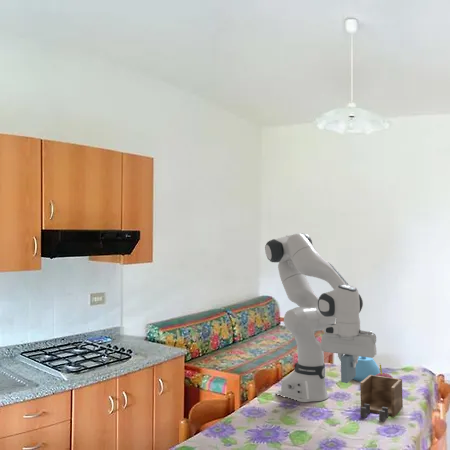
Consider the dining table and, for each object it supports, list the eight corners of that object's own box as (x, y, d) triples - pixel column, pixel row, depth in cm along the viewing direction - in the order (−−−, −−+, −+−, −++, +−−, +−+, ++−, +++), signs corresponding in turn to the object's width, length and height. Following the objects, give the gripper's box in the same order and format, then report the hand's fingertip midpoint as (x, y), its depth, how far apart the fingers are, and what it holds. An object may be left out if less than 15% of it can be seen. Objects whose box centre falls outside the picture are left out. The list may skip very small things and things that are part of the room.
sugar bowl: (357, 383, 226) (357, 359, 227) (342, 375, 241) (342, 351, 241) (386, 381, 230) (385, 356, 230) (369, 372, 245) (369, 349, 245)
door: (350, 383, 173) (349, 358, 173) (341, 382, 175) (340, 357, 175) (358, 376, 182) (358, 352, 182) (350, 375, 184) (349, 351, 184)
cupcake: (383, 393, 212) (383, 365, 212) (369, 388, 219) (369, 361, 220) (398, 390, 216) (397, 363, 216) (383, 385, 223) (383, 359, 224)
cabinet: (355, 415, 185) (355, 386, 186) (370, 401, 202) (369, 374, 202) (390, 422, 178) (389, 392, 179) (402, 406, 195) (402, 379, 195)
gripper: (378, 330, 176) (379, 368, 176) (325, 325, 187) (325, 360, 187) (373, 333, 171) (374, 372, 171) (319, 327, 182) (319, 364, 182)
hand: (348, 366), depth 179 cm, fingers closed on door, 2 cm apart
